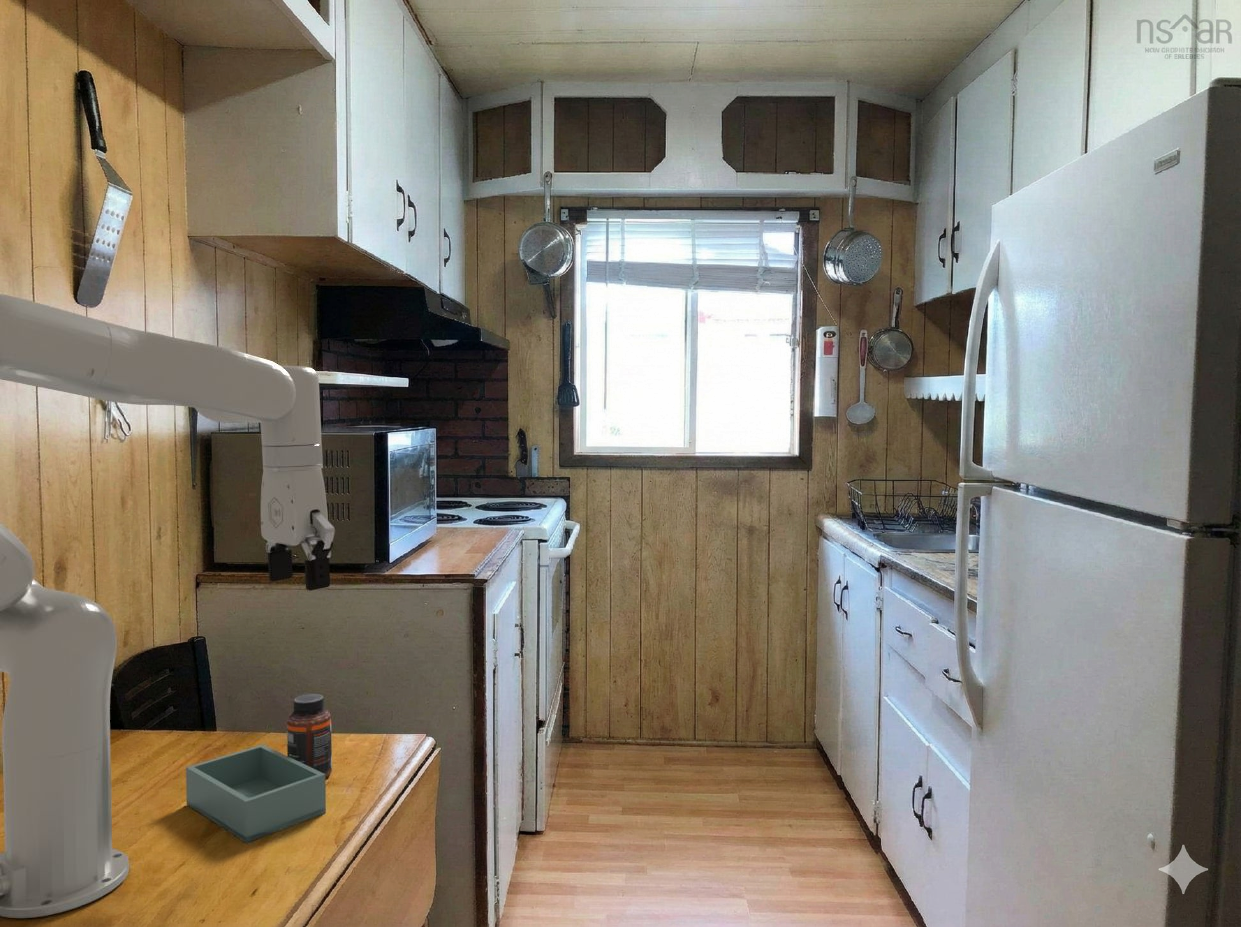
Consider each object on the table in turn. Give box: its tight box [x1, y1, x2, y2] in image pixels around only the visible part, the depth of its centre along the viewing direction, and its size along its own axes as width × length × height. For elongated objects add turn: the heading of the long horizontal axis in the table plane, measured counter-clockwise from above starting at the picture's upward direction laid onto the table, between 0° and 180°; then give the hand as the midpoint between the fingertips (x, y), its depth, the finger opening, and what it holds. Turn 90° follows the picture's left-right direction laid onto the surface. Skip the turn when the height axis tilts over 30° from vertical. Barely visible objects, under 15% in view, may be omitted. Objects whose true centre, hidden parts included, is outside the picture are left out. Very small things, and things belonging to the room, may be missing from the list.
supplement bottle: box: [286, 693, 333, 779], centre depth 118 cm, size 6×6×11 cm
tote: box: [185, 744, 327, 844], centre depth 108 cm, size 10×16×5 cm, turn 51°
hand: (299, 583), depth 114 cm, fingers open, 9 cm apart
